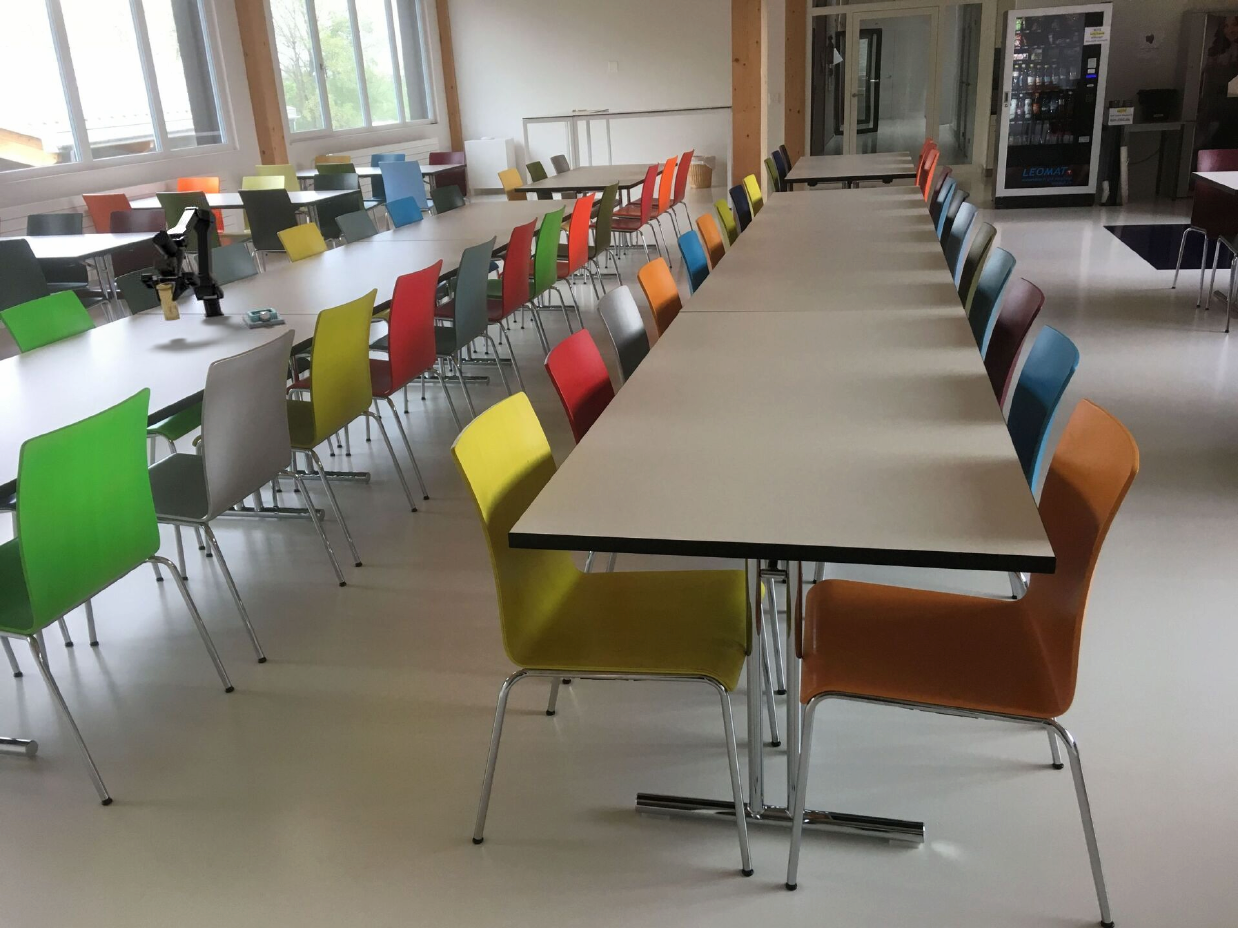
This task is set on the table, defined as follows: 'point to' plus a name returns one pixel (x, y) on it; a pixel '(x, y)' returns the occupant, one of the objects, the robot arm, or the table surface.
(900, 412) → the table surface
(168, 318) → the brass fitting
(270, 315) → the manifold board
